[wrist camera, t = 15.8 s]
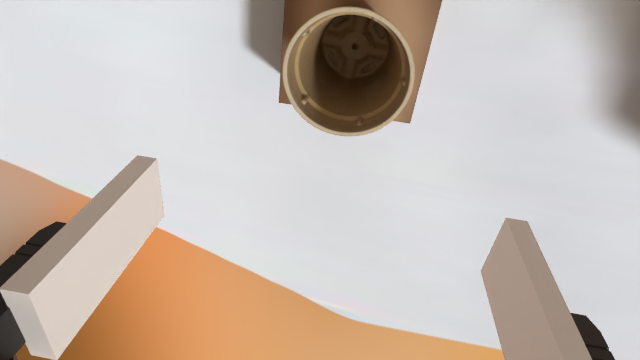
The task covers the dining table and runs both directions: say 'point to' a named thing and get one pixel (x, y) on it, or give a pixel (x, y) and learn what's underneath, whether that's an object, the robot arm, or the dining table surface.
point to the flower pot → (348, 72)
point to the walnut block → (392, 3)
